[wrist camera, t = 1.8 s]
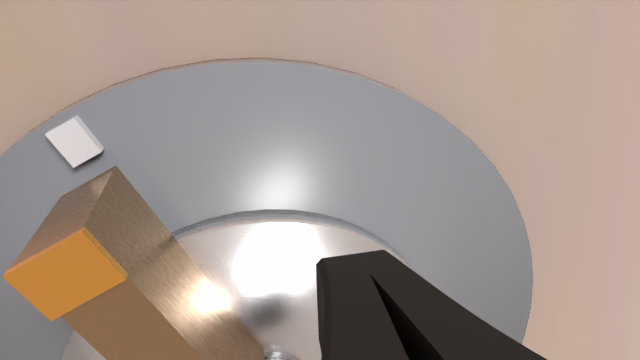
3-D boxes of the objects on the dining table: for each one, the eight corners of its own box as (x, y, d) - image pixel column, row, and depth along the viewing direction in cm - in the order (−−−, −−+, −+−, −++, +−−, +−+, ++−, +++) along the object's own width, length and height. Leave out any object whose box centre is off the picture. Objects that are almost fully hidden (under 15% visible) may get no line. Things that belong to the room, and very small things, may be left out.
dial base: (179, 583, 21) (176, 618, 20) (-260, 290, 12) (-311, 323, 11) (564, 374, 21) (584, 398, 19) (406, -85, 12) (428, -92, 11)
